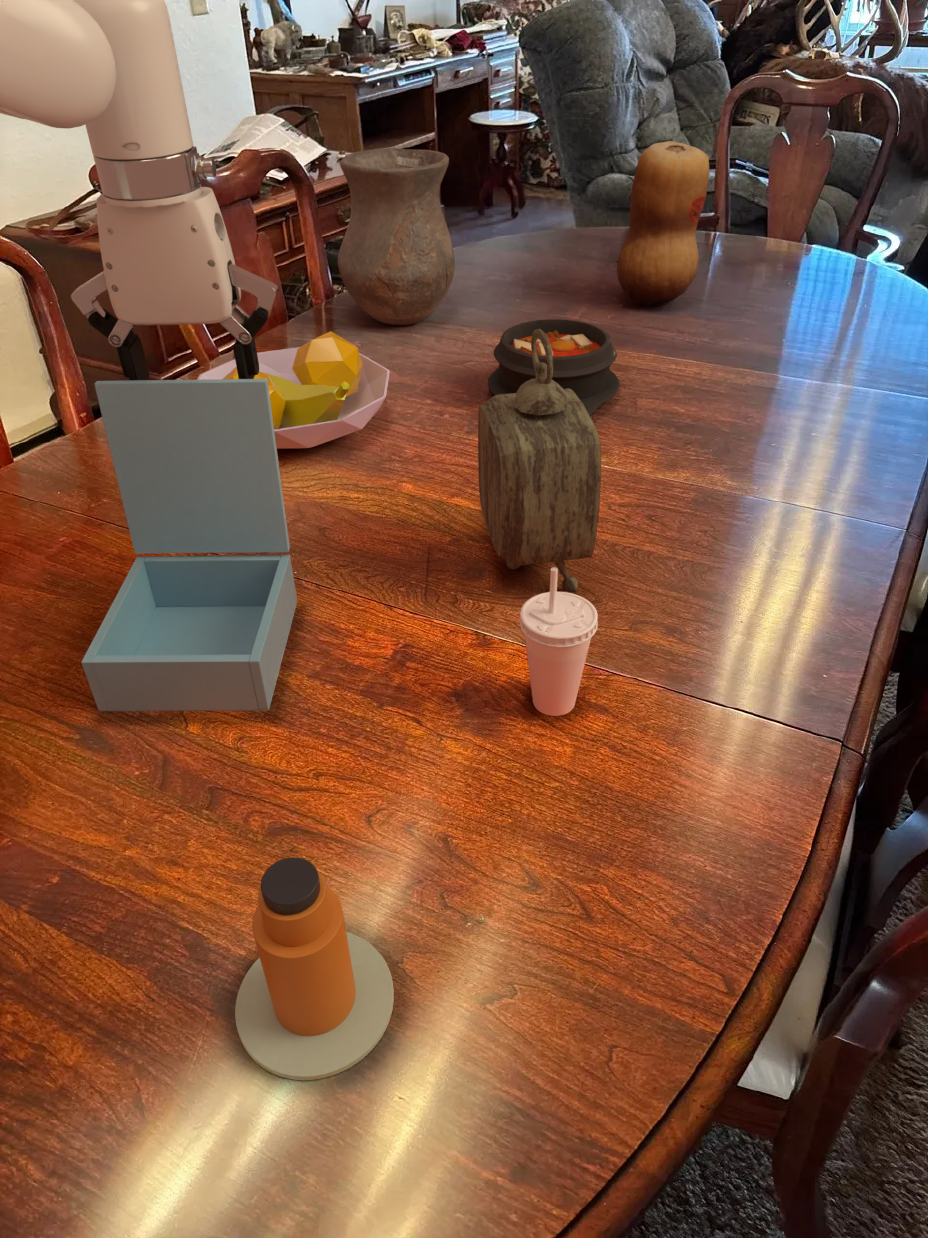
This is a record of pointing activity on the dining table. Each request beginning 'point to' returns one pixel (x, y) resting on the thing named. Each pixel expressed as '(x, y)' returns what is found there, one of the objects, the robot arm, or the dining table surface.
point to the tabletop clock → (539, 472)
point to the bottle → (303, 948)
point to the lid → (196, 464)
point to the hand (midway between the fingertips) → (194, 383)
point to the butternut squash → (663, 223)
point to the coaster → (327, 1050)
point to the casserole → (558, 360)
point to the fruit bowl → (316, 389)
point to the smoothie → (557, 646)
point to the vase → (396, 234)
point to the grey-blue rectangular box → (194, 634)
